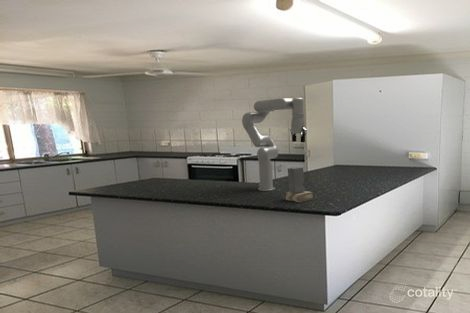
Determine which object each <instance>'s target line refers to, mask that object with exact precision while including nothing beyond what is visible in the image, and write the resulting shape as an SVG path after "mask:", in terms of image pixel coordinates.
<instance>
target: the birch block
mask: <svg viewBox="0 0 470 313" xmlns="http://www.w3.org/2000/svg"><path fill="white" fill-rule="evenodd" d="M313 195H314V194H313V192H312V191H307V190H305V191H304V192H300V193H292V192H289V191H287V192H285V200H286V201H290V202H294V201H295V203H303V201H304V202H307V201H311V200H314V198H313V197H314V196H313Z"/></svg>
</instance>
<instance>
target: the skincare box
mask: <svg viewBox="0 0 470 313" xmlns="http://www.w3.org/2000/svg"><path fill="white" fill-rule="evenodd" d="M304 174H305V172H304V167H302V166H295V167H293V166H292V167H288V168H287V178H288V189H289V191H288V192H292V193H300V192H304V191H306V188H305V186H306V185H305V176H304Z"/></svg>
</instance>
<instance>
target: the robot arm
mask: <svg viewBox="0 0 470 313" xmlns="http://www.w3.org/2000/svg"><path fill="white" fill-rule="evenodd" d="M304 108H305V107H304V99H303V97H294V98H293V97H292V98H290V97H284V98H283V97H282V98H273V99H262V100H257V101H256V102H254V104H253V109H254V110H255V111H248V112H245V113H244V114H243V116H242V118H241V124H242V127H243V129H244V130H245V132H246V134H247V135H248V138H250V140H251V143H252V144H253V146H254V147H255V148H259V149H257V151H256V156H257V160H258V171H259V172H258V173H259V183H258V186H259V187H257V190H258V191H262V192H270V191H274V190H275V189H276V187H275V186H274V183H273V182H274V181H273V179H274V178H273V165H272V162H271V160H272V159H276V158H277V157H278V155H279V150H278V147H277V145H276V144H275V142H274V140H273V138H272V137H271V136H270V135H269V134H267V133H264V134H262V133H261V132H260V130H259V128H258V126H256V125H255V124H260V123H262V122H263V121H264V120H265V119H266V118H267V116H268V115H269V114H270V113H271V112H275V111H278V110H279V111H281V110H291V112H292V114H291V115H292V117H291V123H290V129H289V130H290V135H291V142H293V143H294V142H297V134H300V143H306V136H307V135H306V134H307V132H308V130H307V128H306V124H305V119H304V118H305V116H304V113H305V111H304Z"/></svg>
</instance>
